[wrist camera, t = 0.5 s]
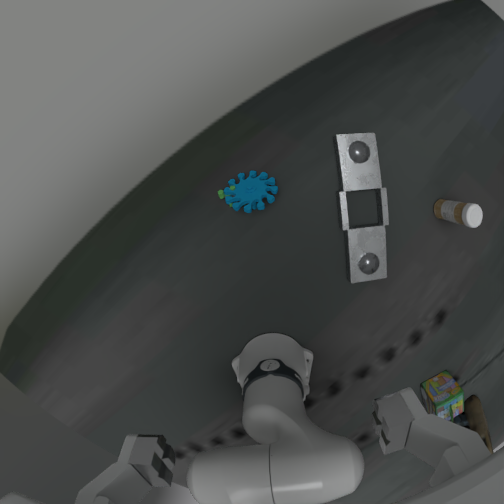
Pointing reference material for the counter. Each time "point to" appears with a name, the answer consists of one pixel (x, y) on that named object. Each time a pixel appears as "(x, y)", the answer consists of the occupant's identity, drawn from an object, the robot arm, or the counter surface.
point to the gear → (249, 191)
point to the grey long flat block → (350, 178)
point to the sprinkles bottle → (458, 212)
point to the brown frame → (475, 420)
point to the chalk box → (443, 396)
